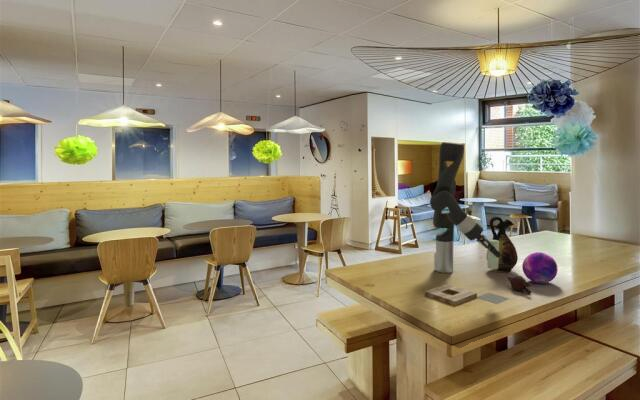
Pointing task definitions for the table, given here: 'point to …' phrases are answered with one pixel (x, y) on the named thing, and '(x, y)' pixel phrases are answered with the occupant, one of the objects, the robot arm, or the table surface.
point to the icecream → (519, 283)
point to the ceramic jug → (504, 246)
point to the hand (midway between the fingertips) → (497, 254)
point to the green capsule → (493, 256)
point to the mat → (492, 298)
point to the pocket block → (450, 294)
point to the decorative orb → (539, 267)
